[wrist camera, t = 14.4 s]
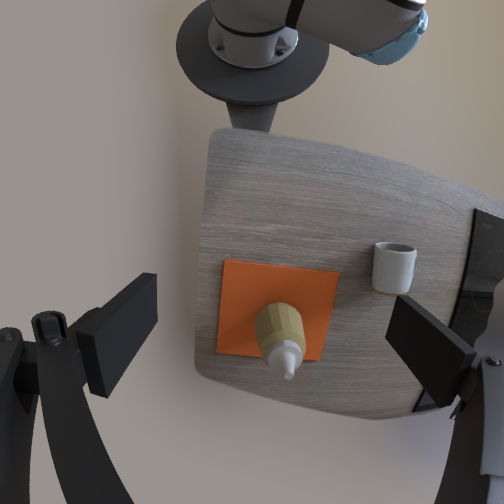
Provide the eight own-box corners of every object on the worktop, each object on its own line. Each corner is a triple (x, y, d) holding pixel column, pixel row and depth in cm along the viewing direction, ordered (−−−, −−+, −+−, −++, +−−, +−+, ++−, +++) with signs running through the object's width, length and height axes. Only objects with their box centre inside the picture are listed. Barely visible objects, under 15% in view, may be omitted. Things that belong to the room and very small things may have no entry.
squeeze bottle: (289, 340, 50) (305, 404, 32) (247, 329, 50) (246, 392, 32) (305, 302, 49) (332, 356, 31) (262, 289, 48) (268, 341, 30)
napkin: (224, 259, 47) (224, 260, 47) (339, 272, 48) (339, 273, 48) (216, 351, 51) (216, 352, 51) (319, 359, 51) (319, 360, 51)
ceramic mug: (364, 286, 48) (382, 301, 41) (367, 242, 47) (387, 250, 39) (411, 282, 49) (432, 295, 41) (415, 241, 47) (438, 248, 39)
